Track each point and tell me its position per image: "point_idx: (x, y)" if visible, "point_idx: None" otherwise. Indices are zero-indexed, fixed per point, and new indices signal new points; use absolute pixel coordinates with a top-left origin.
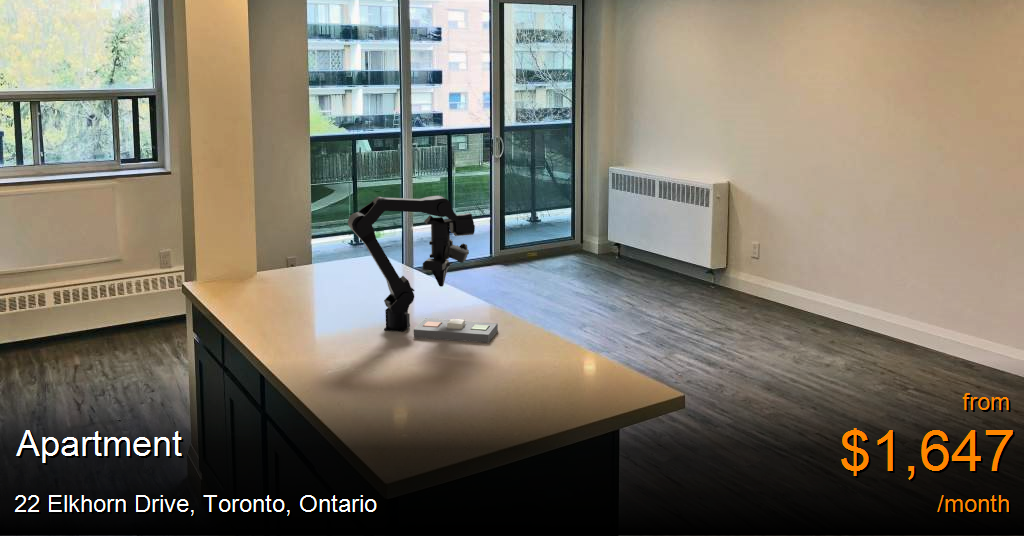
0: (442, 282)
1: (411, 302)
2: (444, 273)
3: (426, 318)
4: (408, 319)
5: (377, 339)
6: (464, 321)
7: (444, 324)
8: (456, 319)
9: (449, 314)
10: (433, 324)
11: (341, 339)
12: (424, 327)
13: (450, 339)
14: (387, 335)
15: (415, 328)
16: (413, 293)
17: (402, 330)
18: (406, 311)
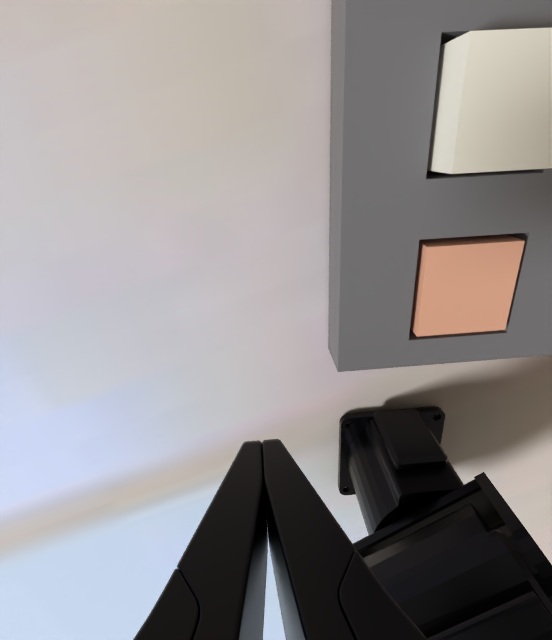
0: (306, 480)
1: (473, 509)
2: (346, 631)
3: (341, 365)
4: (408, 437)
5: (548, 456)
6: (483, 32)
7: (458, 212)
8: (463, 120)
9: (46, 308)
10: (482, 278)
11: (546, 551)
12: (530, 311)
13: None
14: (491, 444)
15: (549, 350)
16: (522, 569)
17: (444, 414)
18: (485, 476)
